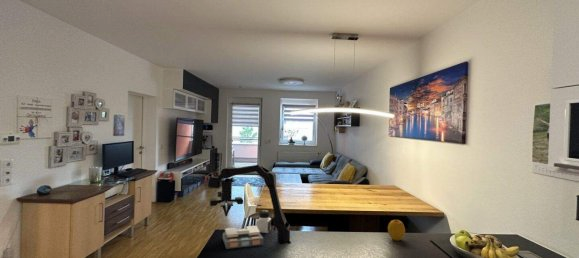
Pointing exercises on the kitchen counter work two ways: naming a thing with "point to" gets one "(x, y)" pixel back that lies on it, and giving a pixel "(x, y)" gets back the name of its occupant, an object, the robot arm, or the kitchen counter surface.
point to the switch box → (242, 241)
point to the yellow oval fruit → (396, 230)
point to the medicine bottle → (264, 222)
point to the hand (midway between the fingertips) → (226, 216)
